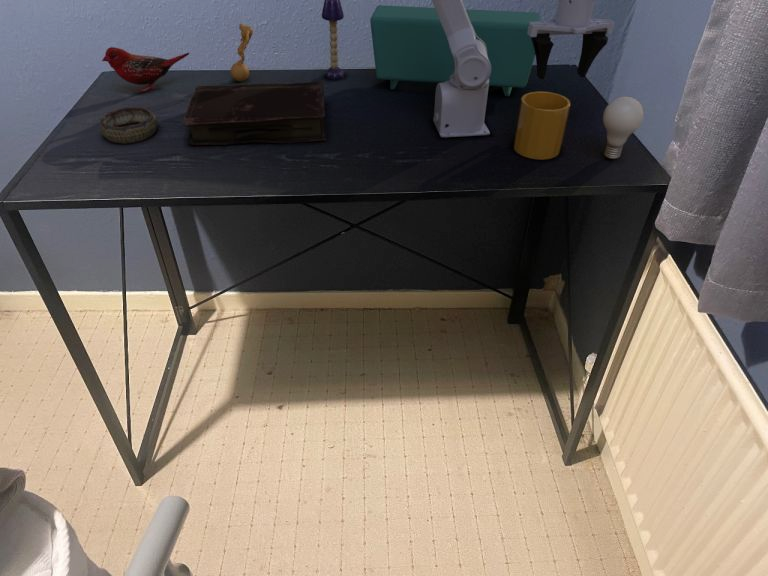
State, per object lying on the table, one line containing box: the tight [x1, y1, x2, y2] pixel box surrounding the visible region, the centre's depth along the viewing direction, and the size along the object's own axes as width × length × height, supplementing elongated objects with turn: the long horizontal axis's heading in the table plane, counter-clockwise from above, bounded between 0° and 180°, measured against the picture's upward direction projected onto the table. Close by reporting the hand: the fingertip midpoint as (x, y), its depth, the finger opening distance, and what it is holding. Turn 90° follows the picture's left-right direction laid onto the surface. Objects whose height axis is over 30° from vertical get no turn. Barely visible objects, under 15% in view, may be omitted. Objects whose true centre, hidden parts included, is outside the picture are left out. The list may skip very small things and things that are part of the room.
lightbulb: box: [602, 96, 645, 160], centre depth 98 cm, size 6×6×11 cm
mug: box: [513, 90, 572, 161], centre depth 102 cm, size 11×8×9 cm
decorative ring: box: [99, 106, 159, 145], centre depth 107 cm, size 10×3×10 cm
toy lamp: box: [321, 0, 345, 81], centre depth 125 cm, size 5×5×17 cm
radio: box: [369, 4, 542, 97], centre depth 121 cm, size 34×10×15 cm, turn 82°
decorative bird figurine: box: [101, 46, 190, 94], centre depth 121 cm, size 3×18×10 cm, turn 123°
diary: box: [182, 81, 327, 146], centre depth 110 cm, size 19×25×5 cm
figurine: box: [230, 23, 254, 83], centre depth 124 cm, size 8×6×12 cm
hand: (560, 76), depth 103 cm, fingers open, 7 cm apart
